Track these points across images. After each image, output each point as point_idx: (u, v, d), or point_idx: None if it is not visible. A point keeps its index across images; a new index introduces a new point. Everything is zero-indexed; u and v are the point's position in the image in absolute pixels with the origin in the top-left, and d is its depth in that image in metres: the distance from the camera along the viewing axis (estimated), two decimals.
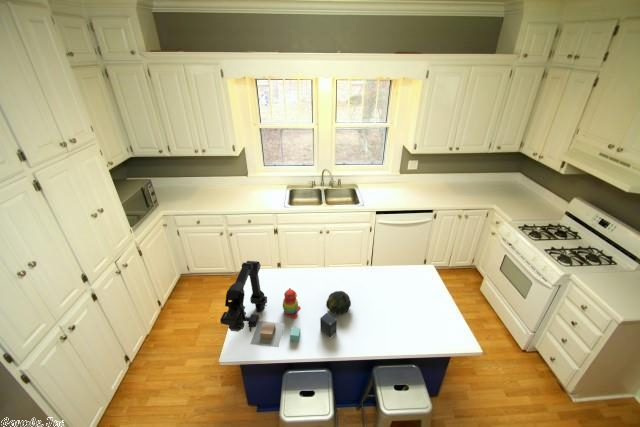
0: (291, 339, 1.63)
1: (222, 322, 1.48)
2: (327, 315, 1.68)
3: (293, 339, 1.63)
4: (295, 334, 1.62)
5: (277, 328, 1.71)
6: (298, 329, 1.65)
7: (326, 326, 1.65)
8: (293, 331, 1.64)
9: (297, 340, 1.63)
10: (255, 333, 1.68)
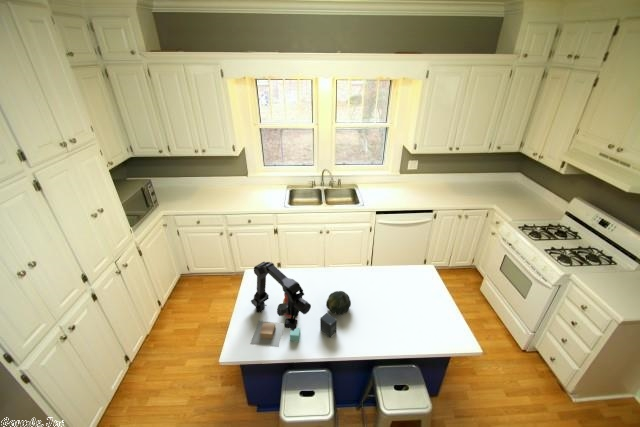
0: (291, 339, 1.63)
1: None
2: (327, 315, 1.68)
3: (293, 339, 1.63)
4: (295, 334, 1.62)
5: (277, 328, 1.71)
6: (298, 329, 1.65)
7: (326, 326, 1.65)
8: (293, 331, 1.64)
9: (297, 340, 1.63)
10: (255, 333, 1.68)
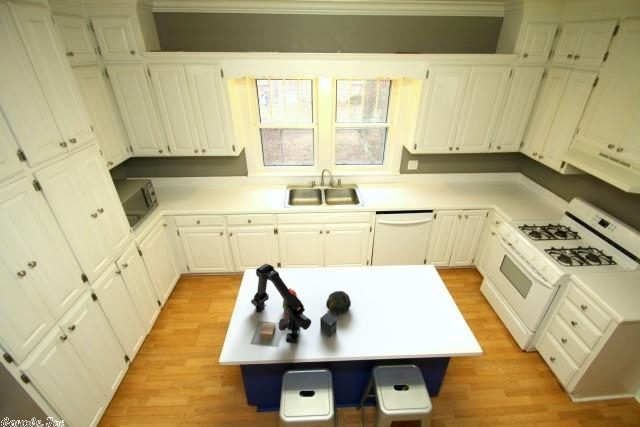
0: None
1: None
2: (327, 315, 1.68)
3: None
4: None
5: (277, 328, 1.71)
6: None
7: (326, 326, 1.65)
8: None
9: None
10: (255, 333, 1.68)
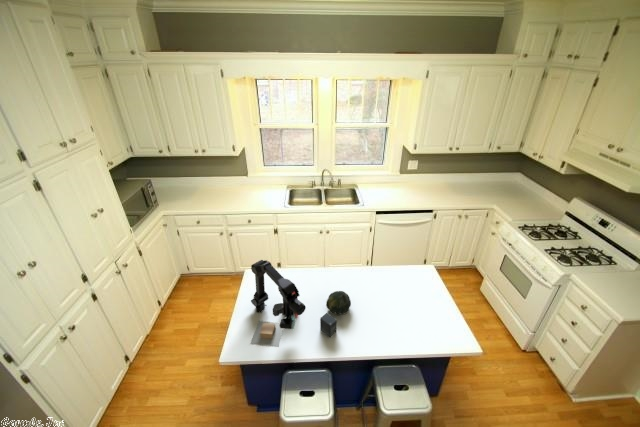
0: None
1: None
2: (327, 315, 1.68)
3: None
4: None
5: (277, 328, 1.71)
6: (293, 315, 1.60)
7: (326, 326, 1.65)
8: None
9: (292, 326, 1.59)
10: (255, 333, 1.68)
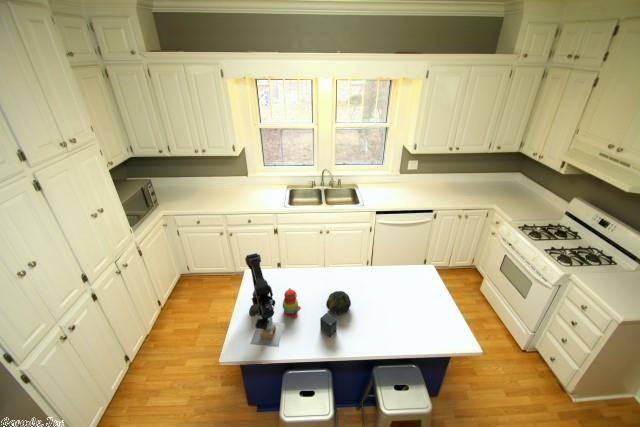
0: None
1: None
2: (327, 315, 1.68)
3: None
4: None
5: (277, 328, 1.71)
6: None
7: (326, 326, 1.65)
8: None
9: (268, 326, 1.62)
10: (255, 333, 1.68)
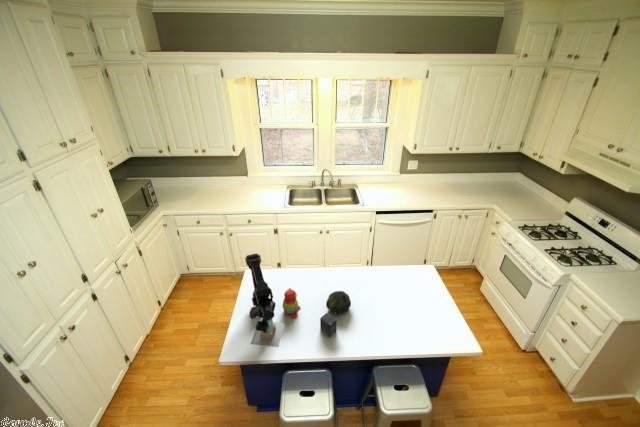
0: None
1: None
2: (327, 315, 1.68)
3: None
4: None
5: (277, 328, 1.71)
6: None
7: (326, 326, 1.65)
8: None
9: (269, 329, 1.63)
10: (255, 333, 1.68)
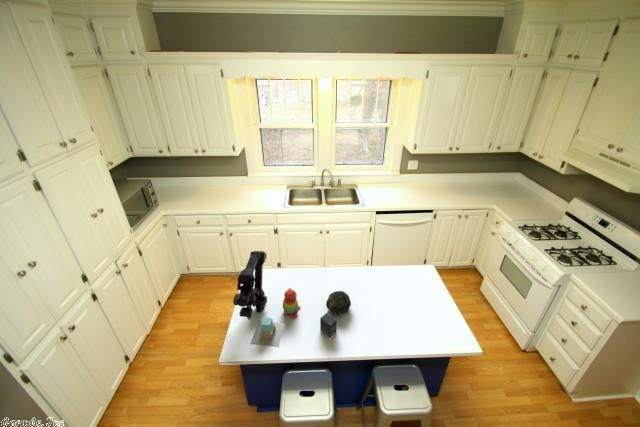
0: (263, 328, 1.63)
1: None
2: (327, 315, 1.68)
3: (265, 328, 1.63)
4: (266, 324, 1.62)
5: (277, 328, 1.71)
6: (270, 319, 1.65)
7: (326, 326, 1.65)
8: (264, 320, 1.64)
9: (269, 329, 1.63)
10: (255, 333, 1.68)
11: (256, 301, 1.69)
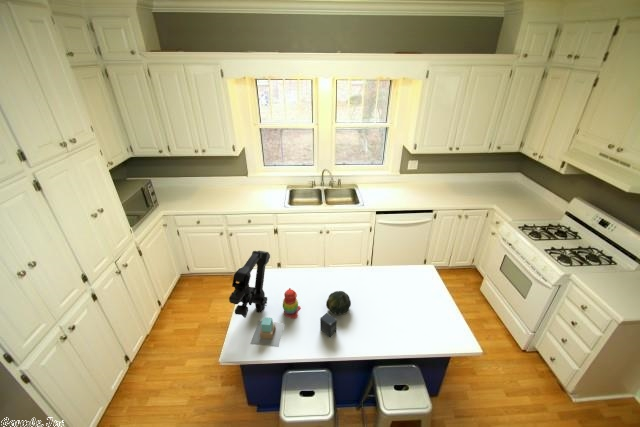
0: (263, 328, 1.63)
1: None
2: (327, 315, 1.68)
3: (265, 328, 1.63)
4: (266, 324, 1.62)
5: (277, 328, 1.71)
6: (270, 319, 1.65)
7: (326, 326, 1.65)
8: (264, 320, 1.64)
9: (269, 329, 1.63)
10: (255, 333, 1.68)
11: (252, 300, 1.69)
